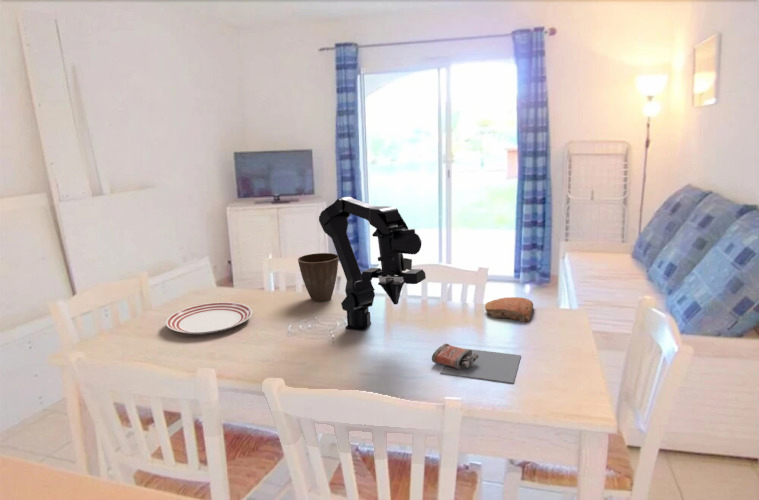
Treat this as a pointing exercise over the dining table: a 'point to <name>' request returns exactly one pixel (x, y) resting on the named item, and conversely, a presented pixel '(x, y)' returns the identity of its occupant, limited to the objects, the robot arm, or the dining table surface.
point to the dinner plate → (209, 317)
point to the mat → (488, 367)
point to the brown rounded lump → (510, 308)
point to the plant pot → (319, 274)
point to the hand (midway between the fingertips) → (396, 304)
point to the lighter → (454, 356)
